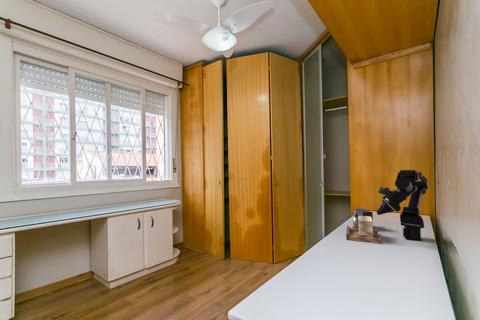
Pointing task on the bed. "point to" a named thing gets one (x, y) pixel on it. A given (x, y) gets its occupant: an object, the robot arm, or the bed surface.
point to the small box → (363, 213)
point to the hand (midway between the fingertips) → (377, 213)
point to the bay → (354, 235)
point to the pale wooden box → (365, 226)
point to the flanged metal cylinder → (355, 221)
